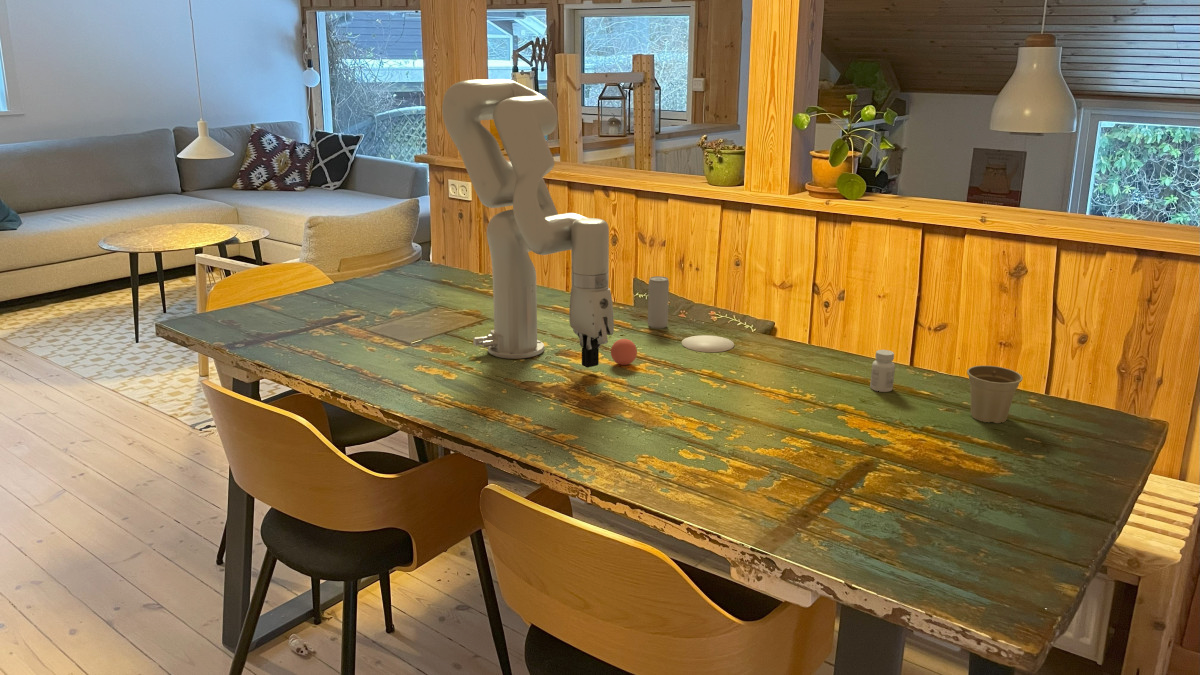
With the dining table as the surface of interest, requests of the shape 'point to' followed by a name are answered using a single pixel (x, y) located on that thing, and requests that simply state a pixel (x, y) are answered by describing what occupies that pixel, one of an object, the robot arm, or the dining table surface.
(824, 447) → the dining table surface
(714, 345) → the disc
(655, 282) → the beverage can
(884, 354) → the pill bottle
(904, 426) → the dining table surface
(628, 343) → the ball
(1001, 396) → the flower pot
